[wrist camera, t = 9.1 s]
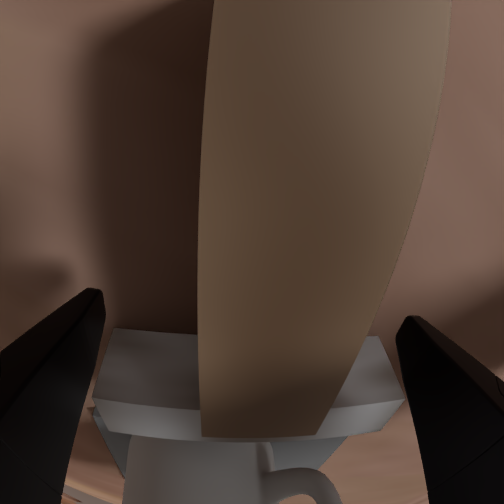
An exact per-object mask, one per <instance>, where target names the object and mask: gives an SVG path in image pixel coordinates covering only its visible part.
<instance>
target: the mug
mask: <svg viewBox="0 0 504 504" xmlns="http://www.w3.org/2000/svg"><path fill="white" fill-rule="evenodd" d="M298 494H306V495H309V496H311V497H313V499H314V500H315V501H316V502H317V504H342V501H341V499H340V496H339V494H338V492H337V490H336V488H335V487H334V485H333V483H332V482H331V481H330V480H329V479H328V477H327V476H326V475H325V474H323V473H322V472H320V471H318V470H315V469H311V468H302V467H300V468H289V469H283V470H277V471H275V465H274V455H273V449H272V446H271V444H270V442H254V443H234V442H203V441H187V440H174V439H164V438H155V437H146V436H139V435H132V437H131V439H130V443H129V449H128V457H127V466H126V475H125V483H124V492H123V500H122V504H279V502H280V501H282V500H284V499H286V498H288V497H291V496H294V495H298Z"/></svg>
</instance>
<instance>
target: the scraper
mask: <svg viewBox="0 0 504 504" xmlns="http://www.w3.org/2000/svg"><path fill="white" fill-rule="evenodd" d="M451 6H452V0H214V7H213V16H212V24H211V34H210V43H209V53H208V64H207V75H206V87H205V100H204V114H203V129H202V146H201V165H200V188H199V218H198V277H197V307H198V335H192V334H177V333H164V332H152V331H141V330H130V329H121V328H114V329H113V332H112V335H111V338H110V341H109V343H108V346H107V349H106V352H105V356H104V359H103V362H102V365H101V368H100V371H99V374H98V378H97V381H96V384H95V388H94V391H93V394H92V399H93V401H94V403H95V405H96V407H97V409H98V411H99V413H100V415H101V417H102V419H103V421H104V423H105V424H106V426H107V428H108V430H109V431H113V432H119V433H125V434H132V435H139V436H146V437H155V438H164V439H174V440H187V441H203V442H234V443H254V442H285V441H301V440H314V439H324V438H334V437H342V436H350V435H357V434H363V433H370V432H376V431H380V430H381V429H382V428H383V427H384V426H385V424H386V423H387V422H388V421H389V419H390V418H391V417H392V416H393V414H394V413H395V412H396V411H397V409H398V408H399V407H400V405H401V404H402V403H403V401H404V400H405V396H404V394H403V391H402V389H401V387H400V384H399V382H398V379H397V377H396V375H395V372H394V370H393V368H392V365H391V363H390V361H389V359H388V356H387V354H386V352H385V350H384V347H383V345H382V343H381V341H380V339H379V336H367V334H368V332H369V329H370V327H371V325H372V323H373V320H374V318H375V316H376V313H377V311H378V309H379V306H380V304H381V301H382V299H383V296H384V294H385V291H386V289H387V286H388V284H389V281H390V278H391V276H392V273H393V271H394V268H395V265H396V262H397V260H398V257H399V254H400V251H401V248H402V245H403V243H404V240H405V237H406V234H407V231H408V227H409V224H410V221H411V218H412V215H413V212H414V208H415V205H416V202H417V198H418V195H419V191H420V188H421V184H422V180H423V177H424V173H425V169H426V165H427V161H428V157H429V153H430V149H431V144H432V140H433V136H434V131H435V126H436V121H437V116H438V111H439V106H440V100H441V95H442V89H443V82H444V76H445V69H446V61H447V53H448V44H449V34H450V22H451Z"/></svg>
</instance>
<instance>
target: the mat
mask: <svg viewBox="0 0 504 504" xmlns="http://www.w3.org/2000/svg"><path fill="white" fill-rule="evenodd" d="M93 418H94V420H95V422H96V424H97V426H98V428H99V430H100V432H101V435H102V437H103V439H104V441H105V443H106V445H107V447H108V448H109V450H110V452H111V454H112V456H113V458H114V460H115V462H116V463H117V465H118V467H119V469H120V471H121V472H122V474H123V476H124V478H125V475H126V466H127V457H128V449H129V443H130V439H131V437H132V434H125V433H119V432H113V431H109V430H108V428H107V426H106V424H105V423H104V421H103V419H102V417H101V415H100V413H99V411H98V409H97V408H96V407H95V409H94V412H93ZM347 437H348V436H342V437H334V438H324V439H314V440H301V441H285V442H270V444H271V446H272V449H273V455H274V465H275V471H277V470H283V469H289V468H300V467H302V468H311V469H315V470H317V469H318V468H319V467H320V466H321V465H322V464H323V463H324V462H325V461H326V460H327V459H328V458H329V457H330V456H331V455H332V454H333V453H334V451H335V450H336V449H337V448H338V447H339V446H340V445H341V444H342V442H343V441H344V440H345V439H346V438H347Z"/></svg>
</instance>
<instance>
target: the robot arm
mask: <svg viewBox="0 0 504 504" xmlns="http://www.w3.org/2000/svg"><path fill="white" fill-rule="evenodd" d="M105 318H106V312H105V305H104V299H103V293H102V291H101V290H100V289H95V288H86V289H85V290H83V291H82V292H80V293H79V294H78V295H76V296H75V297H73V298H72V299H71V300H69V301H68V302H66V303H65V304H64V305H62V306H61V307H59V308H58V309H57V310H55V311H54V312H52V313H51V314H50V315H48V316H47V317H46V318H44V319H43V320H42V321H40V322H39V323H37V324H36V325H35V326H33V327H32V328H31V329H29V330H28V331H27V332H25V333H24V334H23V335H22V336H20V337H19V338H18V339H16V340H15V341H14V342H12V343H11V344H10V345H8V346H7V347H6V348H5V349H3V350H2V351H1V352H0V504H61V499H62V496H61V495H62V493H63V487H64V482H65V478H66V473H67V468H68V464H69V459H70V455H71V451H72V447H73V442H74V438H75V435H76V431H77V427H78V423H79V419H80V416H81V412H82V409H83V405H84V402H85V398H86V395H87V391H88V388H89V385H90V382H91V378H92V375H93V372H94V368H95V365H96V360H97V355H98V350H99V346H100V341H101V336H102V332H103V327H104V323H105ZM396 346H397V351H398V356H399V362H400V367H401V373H402V378H403V383H404V387H405V391H406V395H407V398H408V402H409V406H410V410H411V414H412V418H413V422H414V427H415V431H416V435H417V440H418V444H419V449H420V454H421V459H422V464H423V469H424V474H425V480H426V486H427V491H428V499H429V504H504V382H503V381H502V380H501V379H500V378H499V377H497V376H495V374H494V373H492V372H491V371H490V370H489V369H487V368H486V367H485V366H484V365H482V364H481V363H480V362H479V361H477V360H476V359H475V358H473V357H472V356H471V355H470V354H468V353H467V352H466V351H465V350H463V349H462V348H461V347H459V346H458V345H457V344H456V343H454V342H453V341H452V340H450V339H449V338H448V337H446V336H445V335H444V334H443V333H441V332H440V331H439V330H437V329H436V328H435V327H433V326H432V325H431V324H429V323H428V322H427V321H425V320H424V319H423V318H421V317H420V316H414V315H410V316H407V317H406V318H405V320H404V322H403V323H402V325H401V327H400V329H399V330H398V332H397V334H396Z"/></svg>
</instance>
